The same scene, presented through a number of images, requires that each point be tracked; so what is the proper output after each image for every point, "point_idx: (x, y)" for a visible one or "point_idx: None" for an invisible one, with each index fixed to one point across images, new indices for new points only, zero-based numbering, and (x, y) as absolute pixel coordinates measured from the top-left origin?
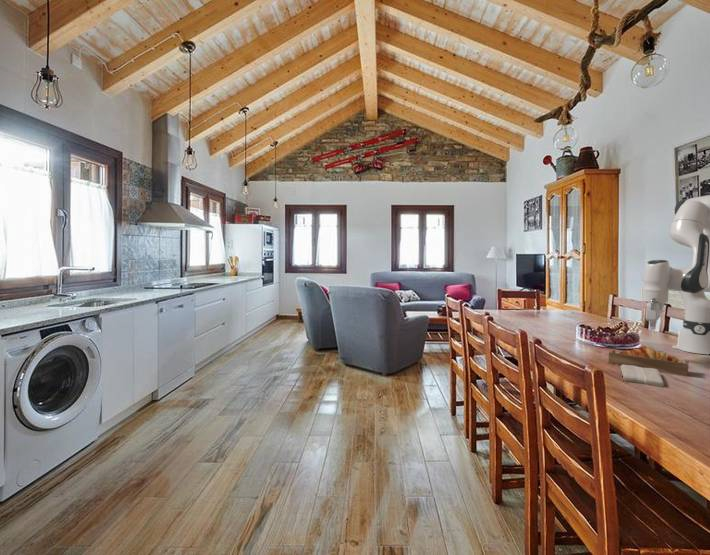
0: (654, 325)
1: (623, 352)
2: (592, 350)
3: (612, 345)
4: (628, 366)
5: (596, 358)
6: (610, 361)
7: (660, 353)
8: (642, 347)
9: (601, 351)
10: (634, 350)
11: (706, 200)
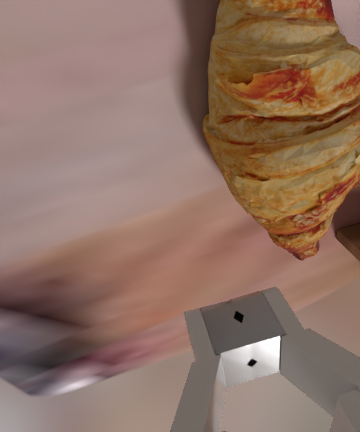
0: (322, 339)
1: (316, 242)
2: None
3: (5, 373)
4: None
5: (350, 271)
6: None
7: (348, 74)
8: (338, 196)
9: None
10: (330, 214)
11: None
